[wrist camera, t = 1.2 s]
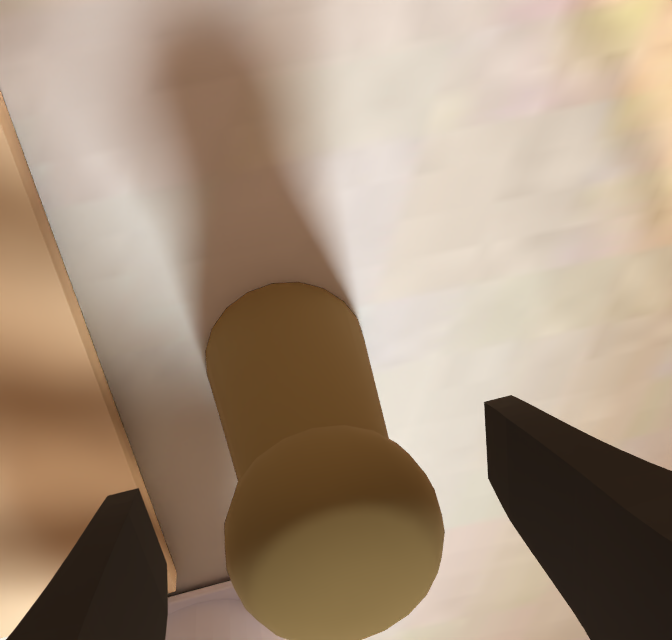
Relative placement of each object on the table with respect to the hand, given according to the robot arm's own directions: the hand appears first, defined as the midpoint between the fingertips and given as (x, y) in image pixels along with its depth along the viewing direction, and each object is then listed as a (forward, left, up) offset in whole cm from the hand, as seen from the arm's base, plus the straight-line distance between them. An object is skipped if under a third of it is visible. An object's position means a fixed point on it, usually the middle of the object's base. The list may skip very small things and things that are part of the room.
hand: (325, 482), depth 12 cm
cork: (-2, 0, -11) cm, 11 cm away
